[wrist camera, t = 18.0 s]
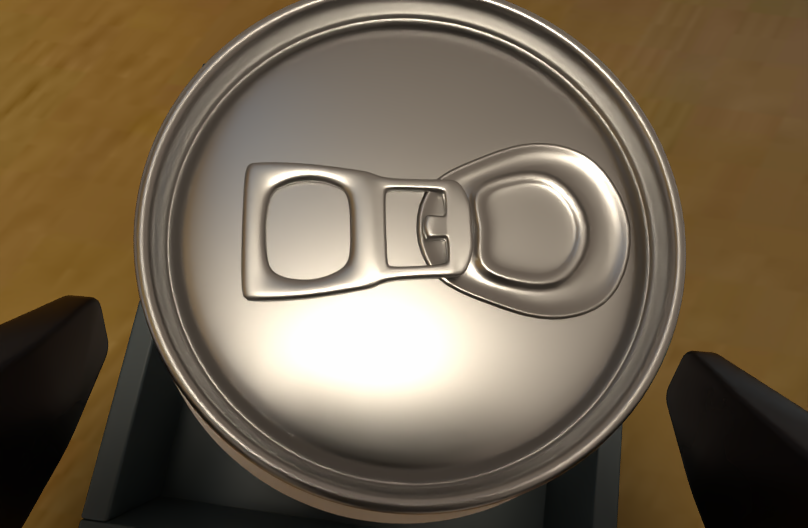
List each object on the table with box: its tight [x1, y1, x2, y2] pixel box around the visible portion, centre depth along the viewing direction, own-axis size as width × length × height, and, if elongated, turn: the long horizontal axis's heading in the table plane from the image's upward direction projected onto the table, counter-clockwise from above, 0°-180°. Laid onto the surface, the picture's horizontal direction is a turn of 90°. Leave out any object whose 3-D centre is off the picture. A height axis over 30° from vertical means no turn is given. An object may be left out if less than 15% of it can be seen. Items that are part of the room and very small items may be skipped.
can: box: [134, 0, 686, 524], centre depth 11 cm, size 6×6×12 cm
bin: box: [79, 64, 622, 528], centre depth 16 cm, size 12×12×4 cm
